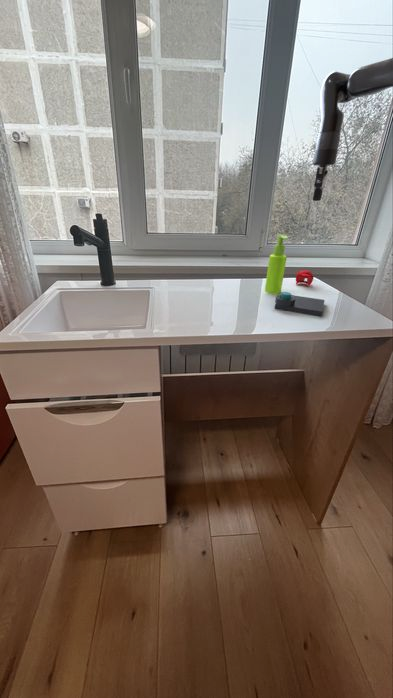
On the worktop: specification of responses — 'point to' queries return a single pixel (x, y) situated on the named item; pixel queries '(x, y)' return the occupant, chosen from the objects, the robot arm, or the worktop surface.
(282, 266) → the soap dispenser
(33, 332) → the worktop surface
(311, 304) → the scale
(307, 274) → the cap
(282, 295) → the tare button
